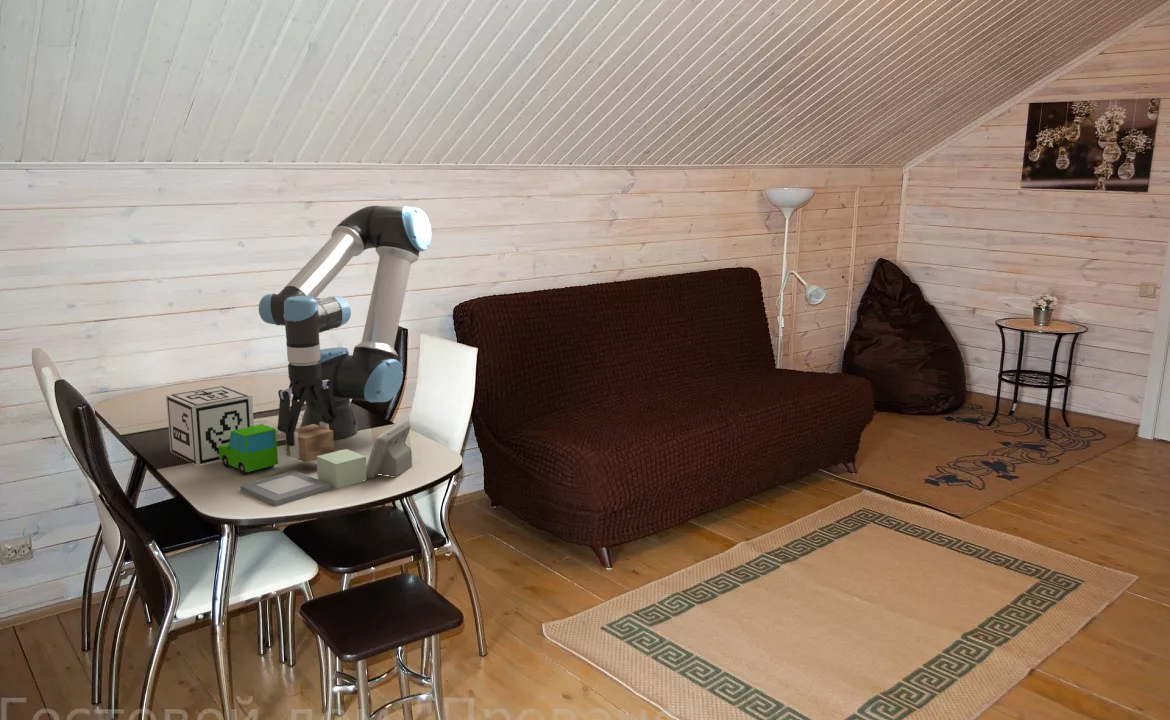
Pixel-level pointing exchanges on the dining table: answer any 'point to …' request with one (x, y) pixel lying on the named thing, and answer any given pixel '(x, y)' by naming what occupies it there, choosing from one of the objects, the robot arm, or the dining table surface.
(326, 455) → the green block
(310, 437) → the walnut block
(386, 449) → the digital clock
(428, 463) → the dining table surface
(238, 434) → the toy car
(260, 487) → the plate
